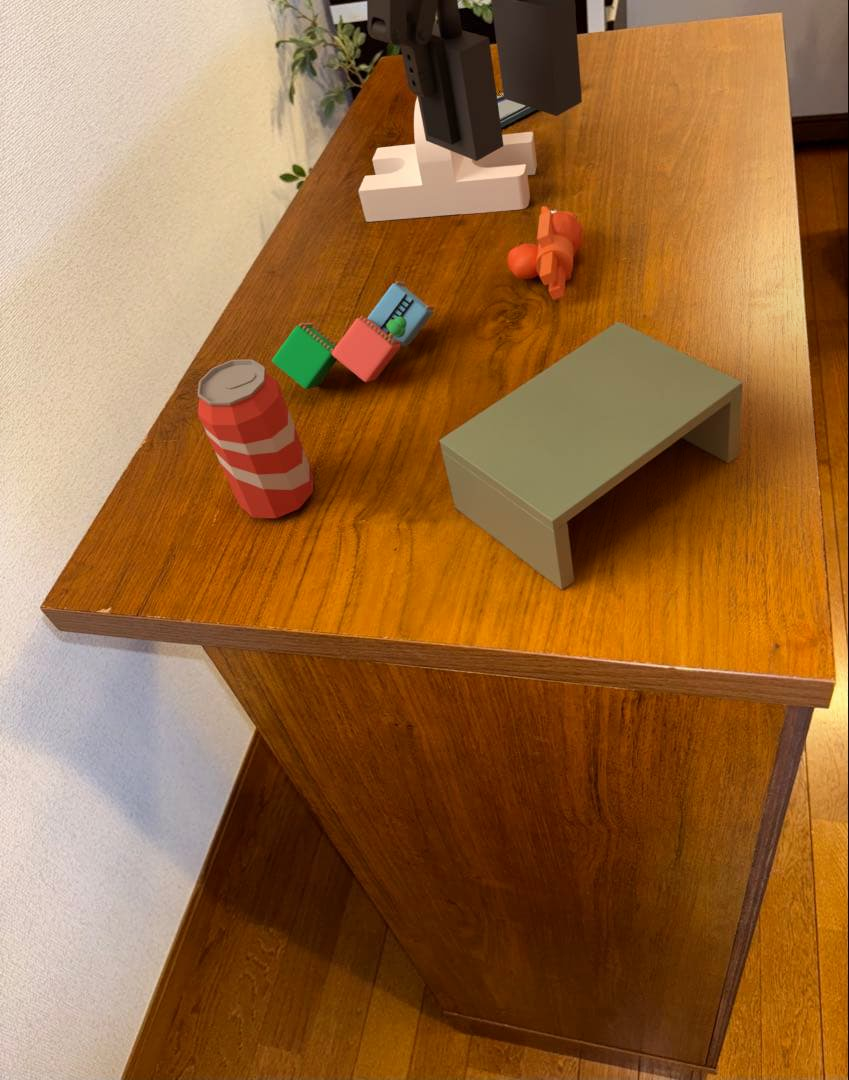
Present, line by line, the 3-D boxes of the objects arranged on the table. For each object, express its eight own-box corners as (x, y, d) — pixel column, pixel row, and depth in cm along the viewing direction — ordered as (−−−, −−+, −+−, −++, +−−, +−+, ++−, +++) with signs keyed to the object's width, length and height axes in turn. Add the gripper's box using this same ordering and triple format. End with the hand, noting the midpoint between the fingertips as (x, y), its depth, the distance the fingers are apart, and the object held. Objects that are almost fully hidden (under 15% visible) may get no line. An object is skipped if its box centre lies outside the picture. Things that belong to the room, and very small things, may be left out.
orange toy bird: (568, 252, 86) (572, 184, 94) (492, 283, 89) (502, 215, 97) (590, 297, 89) (592, 228, 97) (516, 326, 92) (524, 256, 100)
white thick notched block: (366, 222, 109) (341, 124, 101) (384, 178, 115) (362, 83, 107) (527, 208, 104) (514, 105, 96) (537, 163, 110) (525, 63, 102)
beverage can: (327, 503, 78) (283, 385, 70) (252, 535, 77) (199, 419, 69) (303, 460, 83) (260, 344, 74) (233, 491, 82) (180, 376, 73)
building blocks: (359, 410, 93) (437, 309, 90) (338, 418, 86) (422, 307, 82) (295, 358, 93) (371, 254, 90) (268, 361, 85) (350, 247, 82)
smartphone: (447, 117, 121) (542, 67, 125) (449, 124, 122) (543, 75, 125) (482, 132, 116) (580, 81, 120) (483, 140, 117) (580, 88, 121)
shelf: (738, 455, 73) (742, 381, 68) (562, 590, 68) (552, 521, 63) (622, 391, 81) (618, 320, 76) (454, 508, 75) (438, 440, 70)
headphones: (582, 102, 68) (568, -84, 60) (476, 161, 65) (447, -26, 57) (528, 85, 71) (508, -93, 63) (425, 140, 68) (391, -39, 60)
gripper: (553, -367, 57) (581, 33, 73) (233, -254, 50) (341, 161, 66) (649, -379, 52) (657, 52, 68) (310, -256, 45) (407, 191, 61)
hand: (501, 106), depth 67 cm, fingers closed on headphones, 10 cm apart
